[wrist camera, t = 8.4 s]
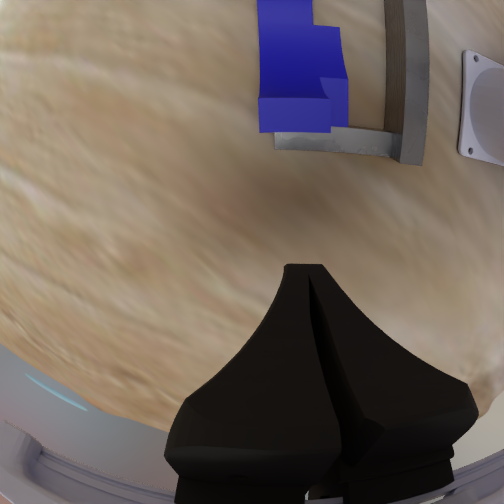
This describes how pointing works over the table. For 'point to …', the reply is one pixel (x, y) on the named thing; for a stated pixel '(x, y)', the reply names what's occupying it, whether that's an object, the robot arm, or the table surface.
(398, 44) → the rail
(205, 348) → the table surface
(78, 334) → the table surface
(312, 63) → the cable clip
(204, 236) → the table surface
